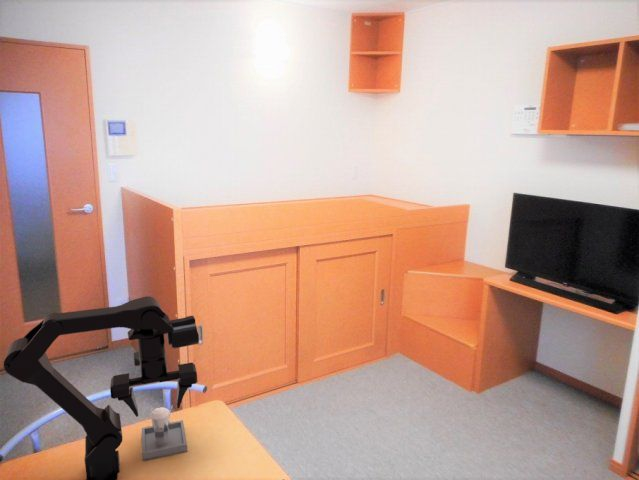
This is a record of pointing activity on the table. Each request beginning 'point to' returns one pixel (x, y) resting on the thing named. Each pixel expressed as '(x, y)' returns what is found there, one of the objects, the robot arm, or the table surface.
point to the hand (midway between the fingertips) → (158, 411)
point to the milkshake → (161, 425)
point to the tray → (172, 447)
